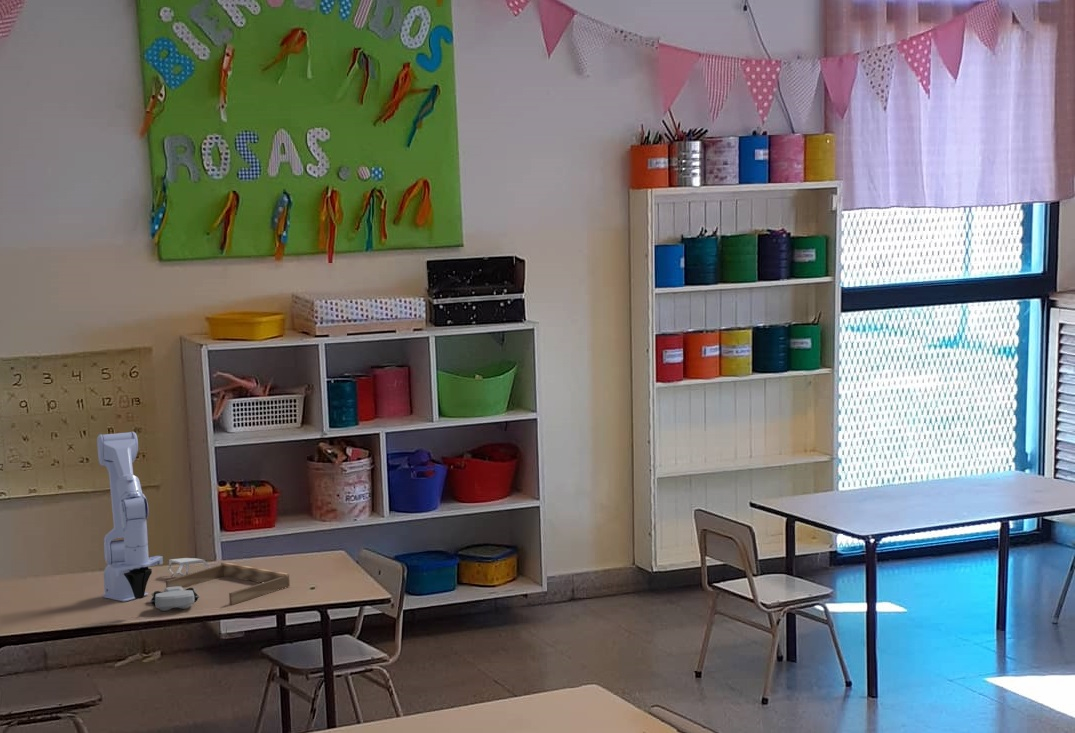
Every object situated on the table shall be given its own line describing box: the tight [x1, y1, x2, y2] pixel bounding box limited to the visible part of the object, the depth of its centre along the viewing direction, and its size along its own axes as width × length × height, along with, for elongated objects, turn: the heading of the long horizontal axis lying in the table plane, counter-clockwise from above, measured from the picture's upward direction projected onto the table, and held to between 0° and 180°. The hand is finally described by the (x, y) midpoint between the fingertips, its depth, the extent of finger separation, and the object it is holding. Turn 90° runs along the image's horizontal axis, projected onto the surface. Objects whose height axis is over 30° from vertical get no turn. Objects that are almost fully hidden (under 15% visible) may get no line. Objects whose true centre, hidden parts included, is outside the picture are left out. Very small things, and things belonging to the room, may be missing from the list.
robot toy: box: [149, 586, 200, 612], centre depth 357 cm, size 12×4×15 cm
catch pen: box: [165, 561, 291, 606], centre depth 372 cm, size 26×20×4 cm
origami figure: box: [168, 557, 211, 577], centre depth 386 cm, size 12×8×5 cm
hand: (139, 597), depth 348 cm, fingers closed
